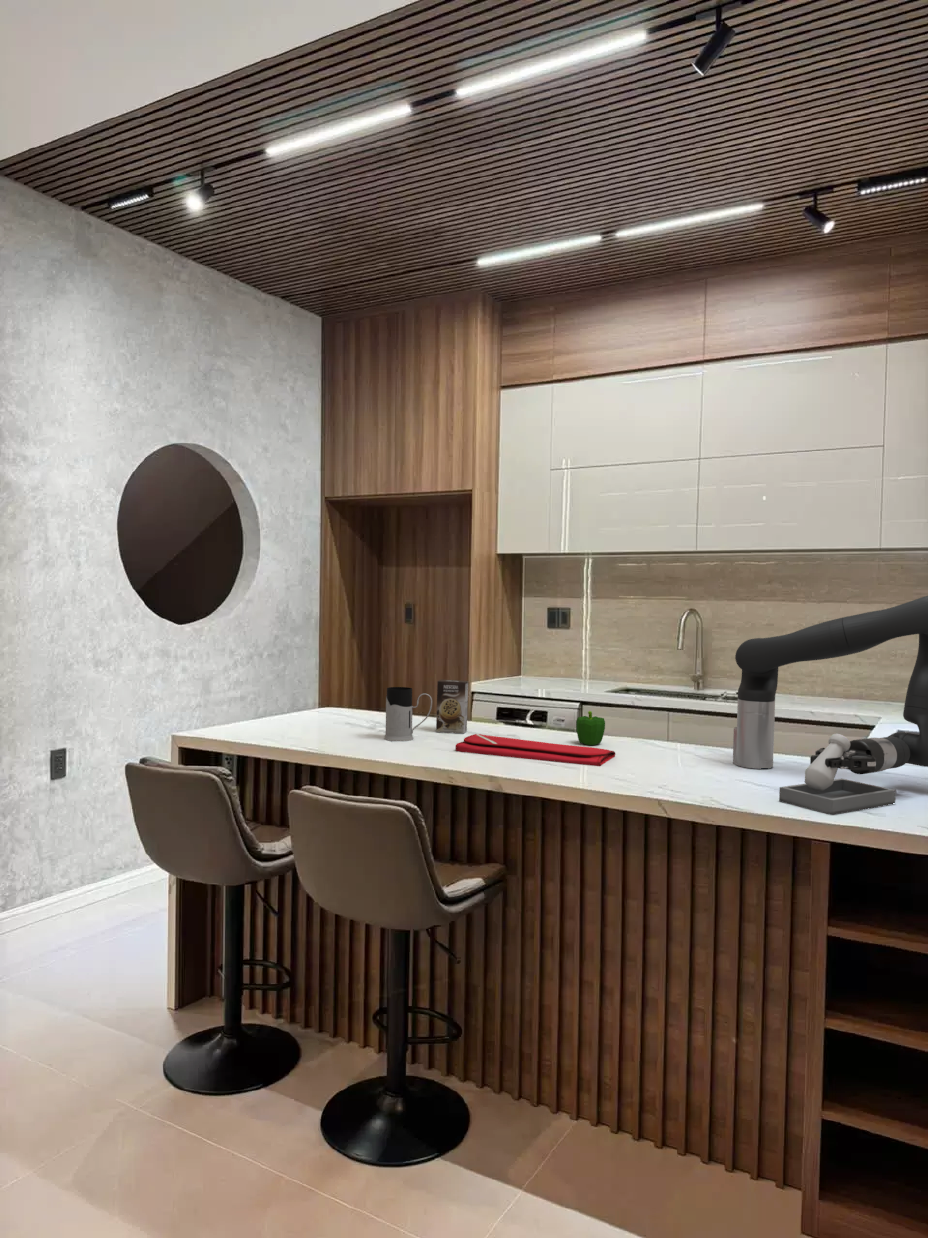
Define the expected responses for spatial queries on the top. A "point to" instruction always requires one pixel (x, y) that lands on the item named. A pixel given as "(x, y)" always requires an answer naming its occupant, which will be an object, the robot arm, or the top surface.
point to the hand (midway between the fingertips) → (819, 762)
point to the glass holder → (400, 714)
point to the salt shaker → (818, 772)
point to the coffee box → (452, 706)
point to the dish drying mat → (534, 750)
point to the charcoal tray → (838, 796)
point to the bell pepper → (590, 729)
